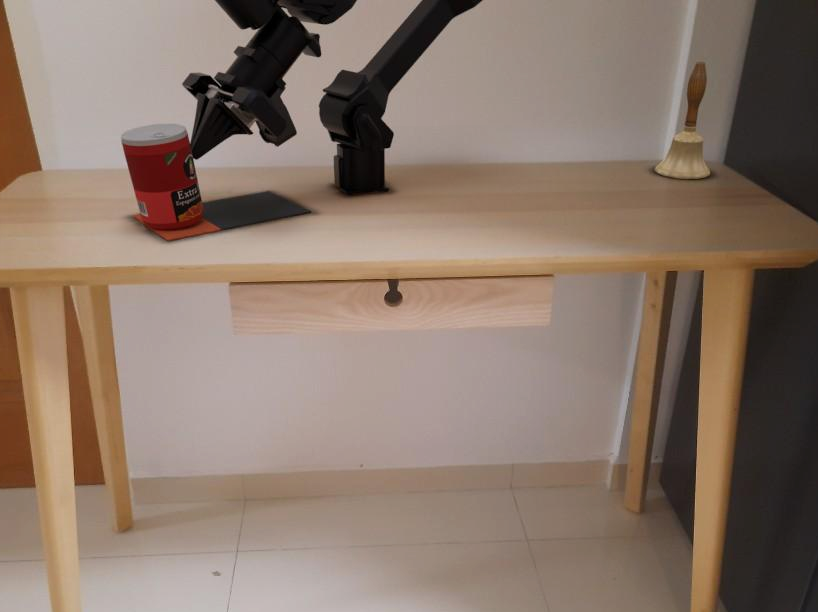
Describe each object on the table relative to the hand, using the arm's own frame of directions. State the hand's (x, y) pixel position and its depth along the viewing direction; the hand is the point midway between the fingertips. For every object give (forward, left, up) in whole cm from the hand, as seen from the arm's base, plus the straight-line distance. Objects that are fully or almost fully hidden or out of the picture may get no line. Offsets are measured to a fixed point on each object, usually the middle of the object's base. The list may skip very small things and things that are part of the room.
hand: (192, 157), depth 97 cm
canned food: (+3, +1, -8) cm, 8 cm away
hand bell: (-74, +2, -8) cm, 75 cm away
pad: (+3, +1, -8) cm, 9 cm away
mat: (-6, -2, -8) cm, 10 cm away
